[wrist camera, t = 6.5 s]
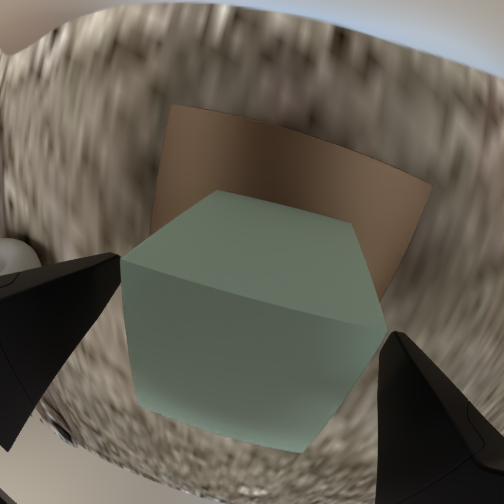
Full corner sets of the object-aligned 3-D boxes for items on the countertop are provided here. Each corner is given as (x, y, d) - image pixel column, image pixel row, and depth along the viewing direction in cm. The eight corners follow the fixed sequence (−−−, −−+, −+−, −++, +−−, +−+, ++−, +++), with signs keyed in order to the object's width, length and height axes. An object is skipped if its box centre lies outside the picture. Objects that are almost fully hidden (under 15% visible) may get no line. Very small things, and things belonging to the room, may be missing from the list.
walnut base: (401, 170, 12) (433, 185, 9) (331, 329, 17) (332, 377, 13) (207, 109, 13) (171, 104, 9) (175, 277, 17) (144, 314, 14)
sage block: (351, 223, 10) (387, 331, 4) (312, 330, 12) (302, 453, 7) (217, 189, 10) (120, 258, 5) (202, 300, 12) (138, 405, 7)
